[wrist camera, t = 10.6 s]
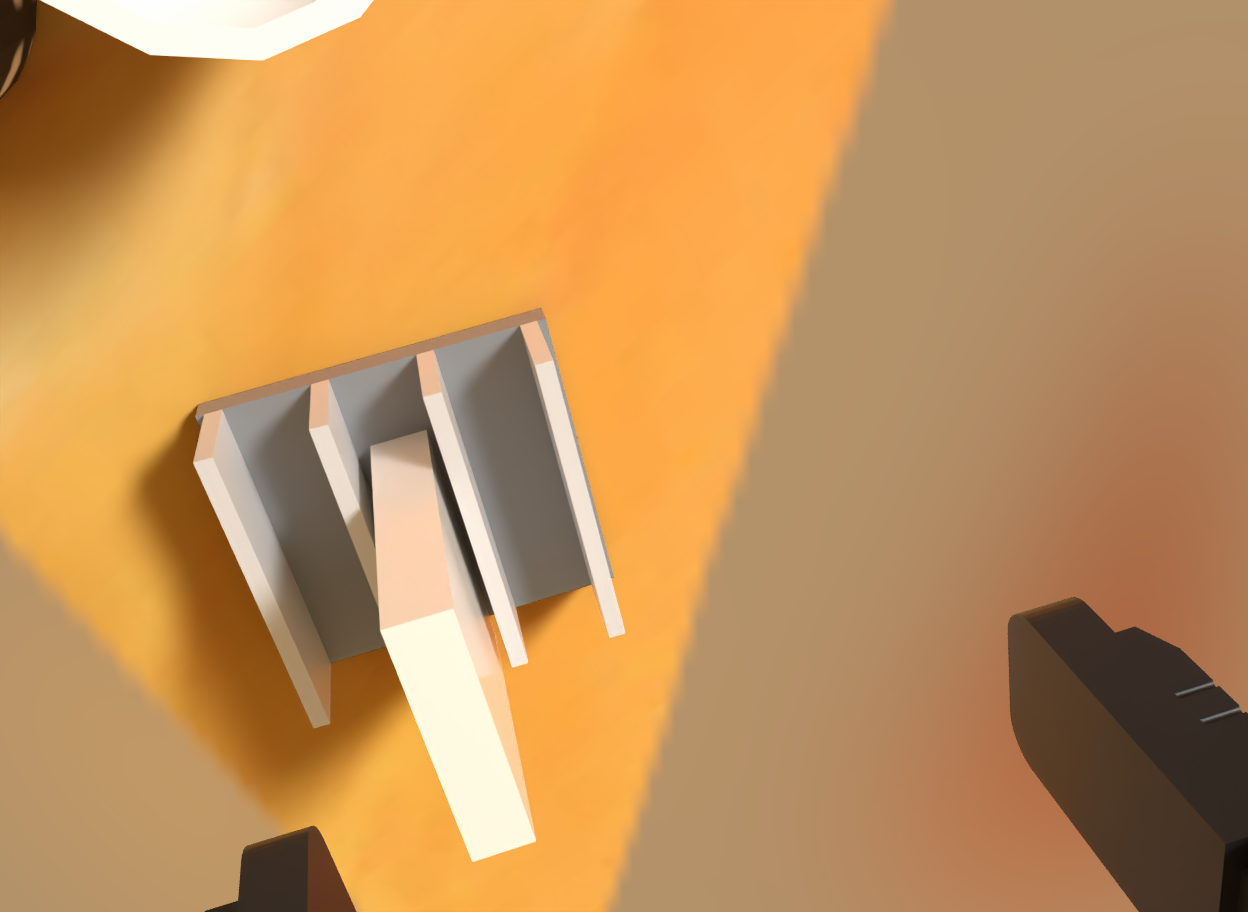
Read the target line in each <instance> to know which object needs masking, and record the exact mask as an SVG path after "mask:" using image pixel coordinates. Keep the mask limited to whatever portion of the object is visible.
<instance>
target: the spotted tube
mask: <svg viewBox="0 0 1248 912" xmlns="http://www.w3.org/2000/svg"><path fill="white" fill-rule="evenodd" d="M36 1H37V0H0V99H1V98H2V97H3V96H4V95H5V94H6V93H7V91H8V90H9V89H10V88H11V87H12V86H13V84H14V83H15V82H16V81H17V79H18V77H19V75H20V73H21V71H22V69H23V67H24V65H25V63H26V61H27V59H28V58H29V54H30V50H31V46H32V42H33V38H34V34H35V30H36Z"/></svg>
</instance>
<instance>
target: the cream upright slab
mask: <svg viewBox="0 0 1248 912" xmlns="http://www.w3.org/2000/svg"><path fill="white" fill-rule="evenodd" d="M370 451H371V470H372V489H373V507H374V526H375V545H376V563H377V582H378V600H379V619H380V632H381V634H382V637H383V639H384V642H385V644H386V647H387V649H388V652H389V654H390V657H391V659H392V662H393V664H394V667H395V669H396V672H397V674H398V677H399V679H400V682H401V684H402V687H403V689H404V692H405V694H406V697H407V699H408V702H409V704H410V707H411V709H412V712H413V714H414V717H415V719H416V722H417V724H418V727H419V729H420V732H421V734H422V737H423V739H424V742H425V744H426V747H427V749H428V752H429V754H430V757H431V759H432V762H433V764H434V767H435V769H436V772H437V774H438V777H439V779H440V782H441V784H442V787H443V789H444V792H445V794H446V797H447V799H448V802H449V804H450V807H451V809H452V812H453V814H454V817H455V819H456V822H457V824H458V827H459V829H460V832H461V834H462V837H463V840H464V842H465V845H466V847H467V850H468V852H469V855H470V857H471V860H472V862H474V861H477V860H480V859H483V858H486V857H489V856H492V855H496V854H499V853H502V852H505V851H508V850H511V849H514V848H517V847H520V846H523V845H527V844H530V843H533V842H536V837H535V832H534V827H533V822H532V817H531V812H530V807H529V802H528V797H527V792H526V787H525V782H524V777H523V772H522V767H521V762H520V757H519V752H518V747H517V741H516V736H515V731H514V726H513V721H512V716H511V711H510V706H509V701H508V696H507V691H506V686H505V681H504V676H503V671H502V666H501V661H500V656H499V651H498V645H497V640H496V635H495V631H494V628H493V625H492V622H491V619H490V616H489V613H488V610H487V607H486V604H485V601H484V598H483V595H482V592H481V589H480V586H479V583H478V580H477V577H476V575H475V572H474V569H473V566H472V563H471V560H470V557H469V554H468V551H467V548H466V545H465V542H464V539H463V536H462V533H461V530H460V527H459V524H458V521H457V518H456V515H455V512H454V509H453V507H452V504H451V501H450V498H449V495H448V492H447V489H446V486H445V483H444V480H443V477H442V474H441V471H440V468H439V465H438V462H437V459H436V456H435V453H434V450H433V447H432V444H431V442H430V439H429V436H428V433H427V430H424V431H420V432H417V433H413V434H410V435H406V436H403V437H399V438H396V439H393V440H389V441H386V442H382V443H379V444H375V445H372V446H370Z"/></svg>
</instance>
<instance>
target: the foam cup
mask: <svg viewBox="0 0 1248 912" xmlns="http://www.w3.org/2000/svg"><path fill="white" fill-rule="evenodd" d="M41 1H43V2H45V3H47V4H49V5H51V6H53V7H55V8H57V9H59V10H61V11H63V12H65V13H67V14H69V15H71V16H73V17H75V18H77V19H79V20H81V21H83V22H85V23H87V24H89V25H91V26H93V27H95V28H97V29H99V30H101V31H103V32H105V33H107V34H109V35H111V36H113V37H115V38H117V39H119V40H121V41H123V42H125V43H127V44H129V45H131V46H133V47H135V48H137V49H139V50H141V51H143V52H145V53H147V54H149V55H162V56H182V57H203V58H224V59H244V60H265V59H267V58H269V57H272V56H274V55H276V54H278V53H281V52H283V51H285V50H287V49H290V48H292V47H294V46H296V45H299V44H301V43H303V42H305V41H308V40H310V39H312V38H314V37H317V36H319V35H321V34H323V33H326V32H328V31H330V30H332V29H335V28H337V27H339V26H341V25H344V24H346V23H348V22H350V21H353V20H355V19H357V18H359V17H361V15H362V14H363V13H364V12H365V10H366V9H367V8H368V6H369V5H370V4H371V3H372V1H373V0H41Z"/></svg>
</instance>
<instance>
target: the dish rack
mask: <svg viewBox="0 0 1248 912" xmlns="http://www.w3.org/2000/svg"><path fill="white" fill-rule="evenodd" d="M195 418H196V420H197V422H198V424H199V427H200V429H201V431H200V435H199V439H198V444H197V448H196V452H195V457H194V461H193V464H194V466H195V468H196V470H197V473H198V475H199V477H200V479H201V481H202V484H203V486H204V488H205V490H206V493H207V495H208V497H209V499H210V501H211V504H212V506H213V508H214V510H215V512H216V515H217V517H218V519H219V521H220V523H221V526H222V528H223V530H224V532H225V534H226V537H227V539H228V541H229V543H230V545H231V548H232V550H233V552H234V554H235V556H236V559H237V561H238V563H239V565H240V567H241V570H242V572H243V574H244V576H245V579H246V581H247V583H248V585H249V587H250V590H251V592H252V594H253V596H254V598H255V601H256V603H257V605H258V607H259V609H260V612H261V614H262V616H263V618H264V620H265V623H266V625H267V627H268V629H269V631H270V634H271V636H272V638H273V640H274V642H275V645H276V647H277V649H278V651H279V653H280V656H281V658H282V660H283V662H284V664H285V667H286V669H287V671H288V673H289V676H290V678H291V680H292V682H293V684H294V687H295V689H296V691H297V693H298V695H299V698H300V700H301V702H302V704H303V706H304V709H305V711H306V713H307V715H308V717H309V720H310V722H311V724H312V726H313V728H318V727H321V726H324V725H327V724H330V710H331V663H334V662H337V661H340V660H344V659H347V658H350V657H353V656H357V655H360V654H363V653H367V652H370V651H373V650H377V649H380V648H383V647H386V644H385V642H384V639H383V637H382V634H381V632H380V619H379V600H378V582H377V563H376V545H375V526H374V507H373V489H372V470H371V451H370V446H372V445H375V444H379V443H382V442H386V441H389V440H393V439H396V438H399V437H403V436H406V435H410V434H413V433H417V432H420V431H424V430H427V433H428V436H429V439H430V442H431V444H432V447H433V450H434V453H435V456H436V459H437V462H438V465H439V468H440V471H441V474H442V477H443V480H444V483H445V486H446V489H447V492H448V495H449V498H450V501H451V504H452V507H453V509H454V512H455V515H456V518H457V521H458V524H459V527H460V530H461V533H462V536H463V539H464V542H465V545H466V548H467V551H468V554H469V557H470V560H471V563H472V566H473V569H474V572H475V575H476V577H477V580H478V583H479V586H480V589H481V592H482V595H483V598H484V601H485V604H486V607H487V610H488V613H489V615H492V614H495V617H496V620H497V623H498V626H499V629H500V632H501V635H502V638H503V641H504V644H505V647H506V650H507V653H508V656H509V659H510V662H511V666H512V668H513V667H516V666H520V665H523V664H526V663H528V658H527V654H526V650H525V645H524V641H523V637H522V632H521V628H520V624H519V619H518V615H517V611H516V607H519V606H522V605H525V604H529V603H532V602H535V601H539V600H542V599H545V598H549V597H552V596H555V595H558V594H562V593H565V592H568V591H572V590H575V589H578V588H582V587H585V586H588V585H592V588H593V591H594V594H595V597H596V600H597V603H598V606H599V609H600V612H601V615H602V618H603V620H604V623H605V626H606V629H607V632H608V635H609V638H611V637H614V636H617V635H621V634H624V633H625V629H624V625H623V622H622V618H621V614H620V610H619V607H618V603H617V599H616V595H615V591H614V588H613V584H612V580H611V578H614V577H613V573H612V569H611V565H610V561H609V558H608V554H607V550H606V546H605V542H604V539H603V535H602V531H601V527H600V523H599V520H598V516H597V512H596V508H595V504H594V501H593V497H592V493H591V489H590V485H589V482H588V478H587V474H586V470H585V466H584V463H583V459H582V455H581V451H580V447H579V444H578V440H577V436H576V432H575V428H574V425H573V421H572V417H571V413H570V409H569V406H568V402H567V398H566V394H565V390H564V387H563V383H562V379H561V375H560V371H559V368H558V364H557V360H556V356H555V352H554V349H553V345H552V341H551V337H550V334H549V330H548V326H547V322H546V318H545V316H544V314H543V311H542V309H541V308H540V309H536V310H533V311H529V312H526V313H522V314H518V315H515V316H511V317H508V318H504V319H501V320H497V321H494V322H490V323H486V324H483V325H479V326H476V327H472V328H469V329H465V330H462V331H458V332H454V333H451V334H447V335H444V336H440V337H437V338H433V339H430V340H426V341H422V342H419V343H415V344H412V345H408V346H405V347H401V348H397V349H394V350H390V351H387V352H383V353H380V354H376V355H373V356H369V357H365V358H362V359H358V360H355V361H351V362H348V363H344V364H341V365H337V366H333V367H330V368H326V369H323V370H319V371H316V372H312V373H309V374H305V375H301V376H298V377H294V378H291V379H287V380H284V381H280V382H276V383H273V384H269V385H266V386H262V387H259V388H255V389H252V390H248V391H244V392H241V393H237V394H234V395H230V396H227V397H223V398H220V399H216V400H212V401H209V402H205V403H202V404H198V408H197V412H196V416H195Z"/></svg>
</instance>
